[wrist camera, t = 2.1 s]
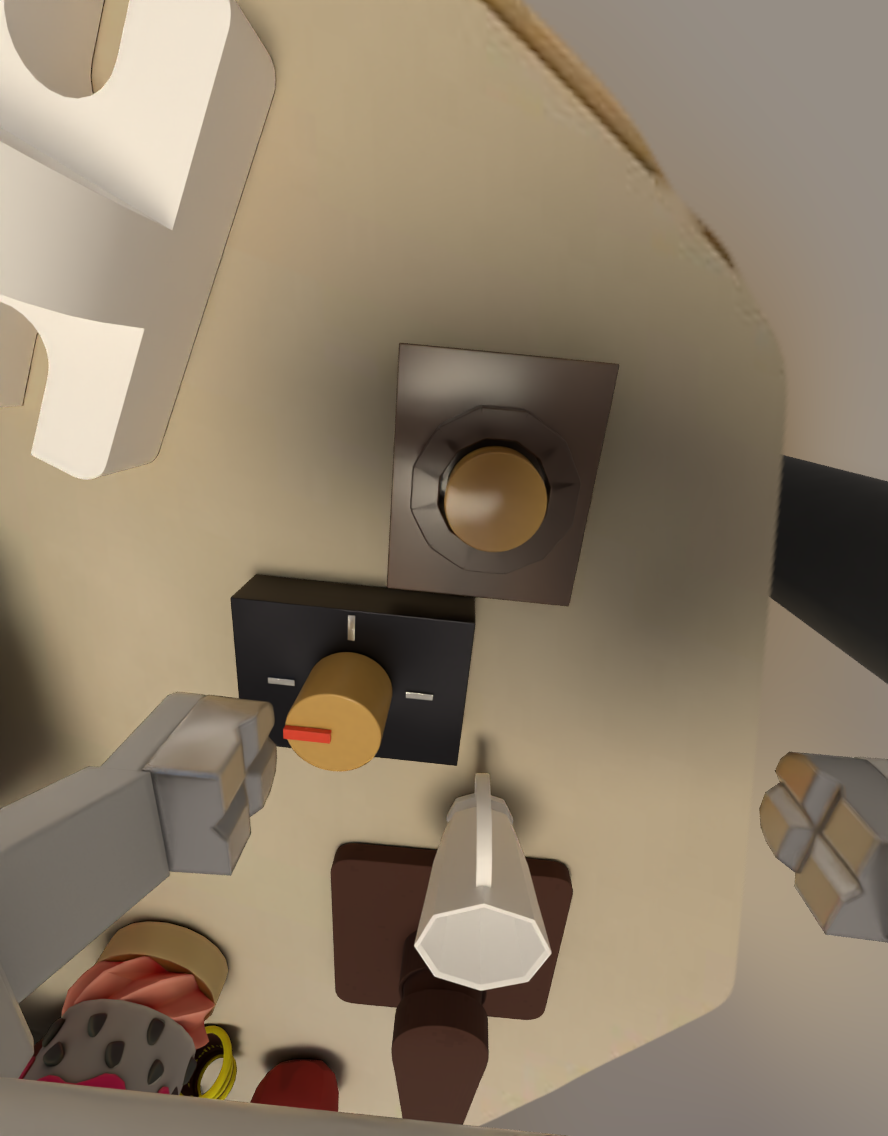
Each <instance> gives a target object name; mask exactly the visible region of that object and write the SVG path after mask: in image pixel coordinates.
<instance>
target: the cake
mask: <svg viewBox="0 0 888 1136" xmlns="http://www.w3.org/2000/svg"><path fill="white" fill-rule="evenodd" d="M227 974H228V967H227V963H226V959H225V957H224V956H223V955H222V953H221V952H220V950H219V949H218V948H217V947H216V946H215V945H214V944H212V943H211V942H210V941H209V940H207V939H206V938H205V937H204V936H202V935H200V934H198V933H196V932H193V931H191V930H189V929H187V928H184V927H181V926H177V925H173V924H170V923H163V922H150V921H147V922H141V923H134V924H130V925H128V926H126V927H124V928H122V929H120V930H118V931H117V933H116V934H115V935H114V936H113V937H112V939H111V940H110V942H109V943H108V945H107V946H106V948H105V949H104V951H103V953H102V954H101V956H100V957H99V959H98V960H97V962H96V964H95V965H94V966H93V967H91V968H90V969H89V970H87V971H86V972H85V973H84V974H83V975H82V976H81V977H80V978H79V979H78V980H77V981H76V982H75V983H74V984H73V986H72V987H71V988H70V989H69V990H68V993H67V996H66V999H65V1002H64V1006H63V1009H62V1016H61V1018H59V1019H58V1020H56V1021H55V1022H54V1023H52V1025H51V1027H50V1029H49V1030H48V1032H47V1034H46V1035H45V1037H44V1039H43V1041H42V1046H43V1047H42V1048H41V1050H40V1051H39V1053H38V1054H37V1056H36V1058H35V1057H34V1056H33V1057H32V1058H31V1059H30V1061H29V1062H28V1064H27V1066H26V1067H25V1069H24V1070H23V1072H22V1074H21V1075H20V1077H19V1078H18V1079H25V1080H35V1081H45V1082H54V1083H64V1084H74V1085H83V1086H93V1087H103V1088H112V1089H122V1090H132V1091H141V1092H151V1093H161V1094H170V1095H179V1094H180V1092H181V1089H182V1087H183V1085H185V1084H187V1083H188V1081H189V1080H190V1078H191V1076H192V1074H193V1072H194V1070H195V1068H196V1065H197V1062H196V1060H195V1059H194V1056H195V1052H196V1049H199V1048H201V1047H203V1046H205V1045H206V1044H207V1043H208V1042H209V1039H208V1036H207V1033H206V1030H205V1026H204V1021H205V1020H206V1019H207V1018H208V1017H209V1016H211V1015H212V1013H213V1010H214V1008H215V1005H216V1003H217V1000H218V998H219V995H220V993H221V990H222V988H223V985H224V983H225V980H226V977H227Z"/></svg>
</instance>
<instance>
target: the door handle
mask: <svg viewBox="0 0 888 1136" xmlns="http://www.w3.org/2000/svg"><path fill="white" fill-rule="evenodd" d="M436 853H437V850H427V849H416V848H404V847H393V846H382V845H371V844H359V843H350V844H345V845H342V846H340V847H339V848H338V850H337V852H336V854H335V858H334V861H333V865H332V869H331V890H332V916H333V941H334V966H335V990H336V993H337V995H338V997H339V998H340V999H342V1000H344V1001H346V1002H350V1003H355V1004H365V1005H376V1006H386V1007H397V1009H396V1014H395V1023H394V1032H393V1041H392V1060H393V1066H394V1070H395V1076H396V1081H397V1087H398V1093H399V1099H400V1105H401V1111H402V1117H403V1119H412V1120H422V1121H431V1122H441V1123H451V1124H460V1125H463V1123H464V1120H465V1118H466V1115H467V1113H468V1110H469V1108H470V1105H471V1103H472V1100H473V1098H474V1095H475V1093H476V1090H477V1088H478V1085H479V1083H480V1080H481V1078H482V1076H483V1073H484V1071H485V1069H486V1066H487V1063H488V1055H489V1052H488V1018H487V1016H490V1017H501V1018H511V1019H521V1020H531V1019H536V1018H538V1017H540V1016H541V1015H542V1014H543V1013H544V1011H545V1007H546V1003H547V999H548V995H549V991H550V987H551V982H552V978H553V974H554V970H555V966H556V962H557V957H558V953H559V949H560V945H561V941H562V937H563V932H564V928H565V924H566V920H567V916H568V912H569V907H570V903H571V899H572V895H573V889H572V884H571V879H570V874H569V871H568V868H567V867H566V866H565V865H563V864H562V863H559V862H556V861H551V860H540V859H529V858H525V859H526V861H527V864H528V867H529V871H530V875H531V879H532V882H533V886H534V890H535V894H536V898H537V901H538V905H539V909H540V912H541V916H542V919H543V922H544V926H545V930H546V933H547V937H548V941H549V945H550V948H551V952H552V953H551V955H550V956H549V957H548V958H547V960H546V961H545V962H544V963H543V965H542V966H541V967H540V968H539V969H538V971H537V972H536V973H535V974H534V976H533V977H532V978H531V979H530V981H529V982H525V983H519V984H514V985H509V986H504V987H498V988H493V989H488V990H482V991H480V990H477V989H473V988H470V987H467V986H464V985H460V984H457V983H454V982H451V981H447V980H444V979H441V978H438V977H435V976H434V975H433V973H432V972H431V970H430V969H429V968H428V966H427V965H426V963H425V962H424V960H423V959H422V957H421V956H420V954H419V953H418V951H417V950H416V948H415V947H414V943H415V939H416V935H417V930H418V926H419V922H420V918H421V914H422V910H423V906H424V902H425V897H426V893H427V889H428V884H429V880H430V875H431V871H432V866H433V862H434V859H435V856H436Z"/></svg>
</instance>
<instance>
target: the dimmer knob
mask: <svg viewBox="0 0 888 1136" xmlns="http://www.w3.org/2000/svg"><path fill="white" fill-rule="evenodd" d="M391 699H392V684H391V681H390V679H389V677H388V675H387V673H386V672H385V670H384V669H383V668H382V667H381V666H380V665H379V664H378V663H377V662H375V661H374V660H372V659H370V658H369V657H367V656H364V655H361V654H358V653H352V652H340V653H335V654H331V655H329V656H327V657H324V658H323V659H321V660H320V661H319V662H318V663H317V664H316V665H315V666H314V667H313V669H312V670H311V672H310V674H309V676H308V678H307V680H306V681H305V683H304V685H303V687H302V689H301V691H300V693H299V694H298V696H297V698H296V700H295V702H294V704H293V706H292V707H291V709H290V711H289V713H288V715H287V718H286V722H285V727H284V728H283V738H284V739H287V740H288V742H289V744H290V746H291V747H292V749H293V750H294V751H295V753H296V754H297V755H298V756H299V757H301V758H302V759H303V760H305V761H306V762H308V763H309V764H311V765H313V766H315V767H318V768H321V769H325V770H330V771H348V770H353V769H356V768H359V767H361V766H363V765H365V764H366V763H368V762H369V761H370V760H371V759H372V758H373V757H374V756H375V755H376V753H377V752H378V750H379V747H380V744H381V740H382V736H383V732H384V728H385V724H386V720H387V716H388V711H389V707H390V703H391Z"/></svg>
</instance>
